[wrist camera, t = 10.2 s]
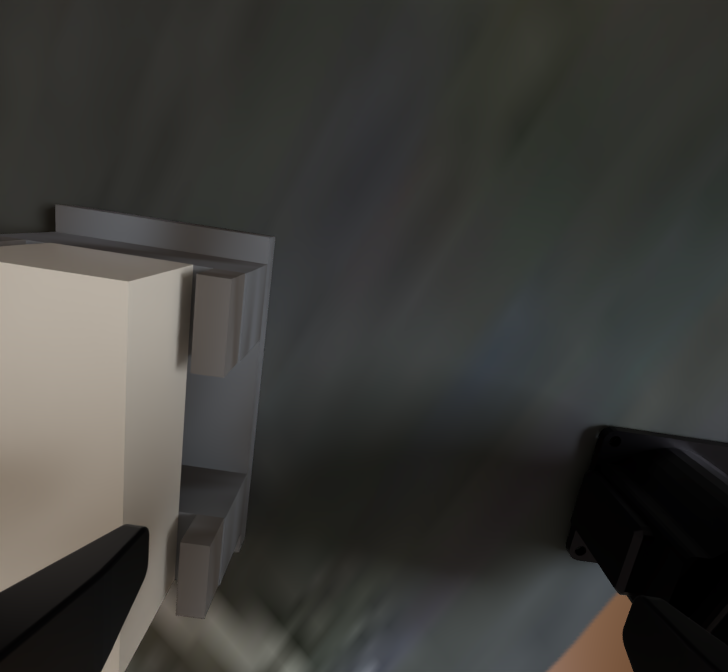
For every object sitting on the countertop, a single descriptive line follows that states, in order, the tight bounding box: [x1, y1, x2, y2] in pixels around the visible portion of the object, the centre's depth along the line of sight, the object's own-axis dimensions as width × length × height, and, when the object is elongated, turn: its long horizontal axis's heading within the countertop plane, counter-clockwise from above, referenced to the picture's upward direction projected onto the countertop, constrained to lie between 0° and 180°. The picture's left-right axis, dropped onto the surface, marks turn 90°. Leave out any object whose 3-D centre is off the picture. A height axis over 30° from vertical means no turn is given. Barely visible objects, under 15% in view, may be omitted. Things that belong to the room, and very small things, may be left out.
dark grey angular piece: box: [0, 204, 275, 619], centre depth 17 cm, size 8×14×6 cm, turn 171°
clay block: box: [0, 243, 193, 672], centre depth 14 cm, size 4×12×4 cm, turn 171°
